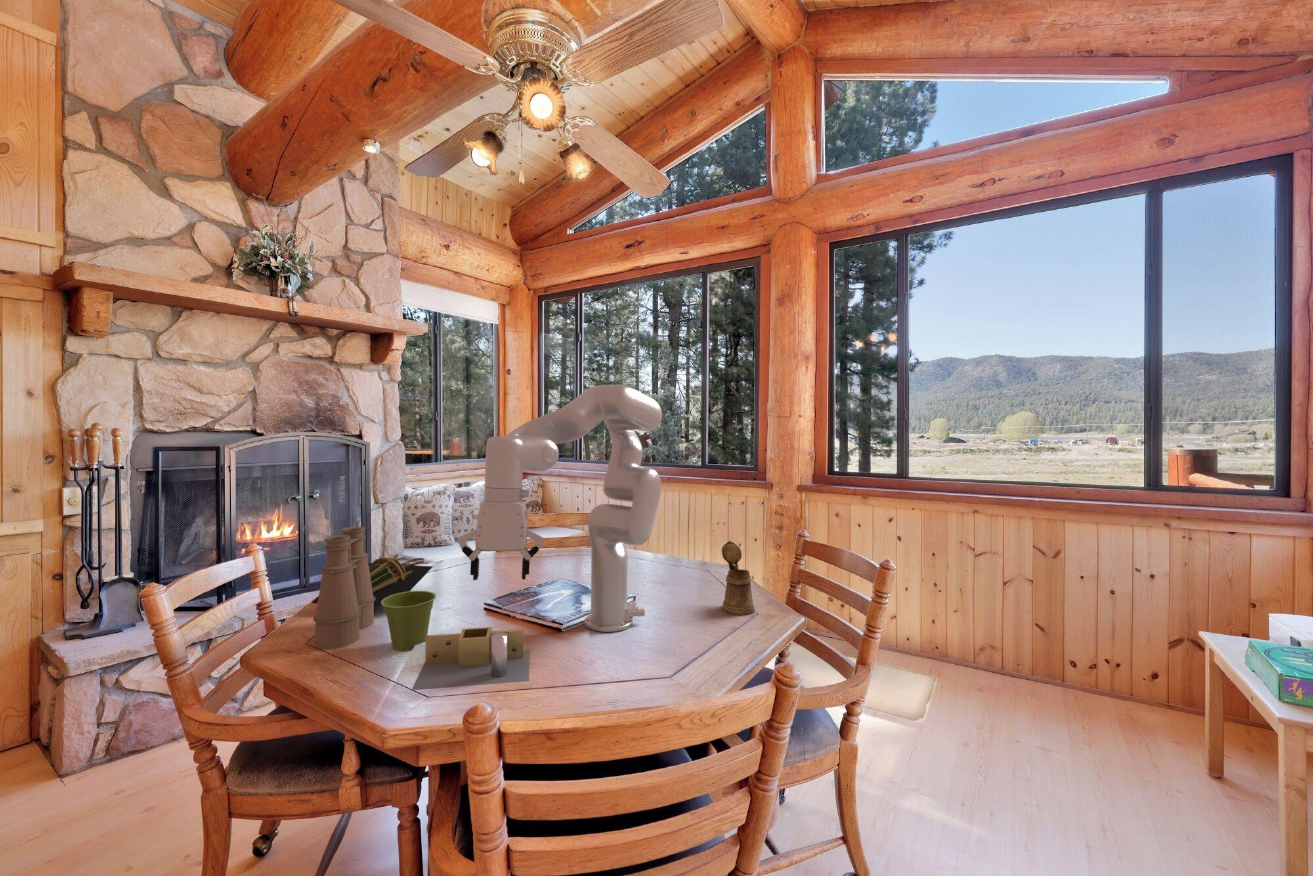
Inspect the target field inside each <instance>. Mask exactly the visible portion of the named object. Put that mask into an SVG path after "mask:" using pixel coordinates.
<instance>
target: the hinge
mask: <svg viewBox="0 0 1313 876" xmlns="http://www.w3.org/2000/svg"><path fill="white" fill-rule="evenodd" d="M492 627H493V626H487V627H486V626H485V627H469V628H462V629H461V631H460V633H446V634H444V633H443V634H427V635H426V642H425V661H426V665H430V664H444V663H458V668H463V667H477V666H489V663H490V660H491V635H493V634H495V633H506V634H507V659H514V658H523V651H524V629H511V630H495V631H493V630H492Z"/></svg>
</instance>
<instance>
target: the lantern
mask: <svg viewBox="0 0 1313 876" xmlns="http://www.w3.org/2000/svg"><path fill="white" fill-rule="evenodd" d="M399 555H400V554H399V553H396V554H395V555H394V556H393V557H388V556H387V557H383V556H382V555H379V558H377V559H375V560H374V561H372V563H369V562H368V566H369V572H370V579H371V585H372V591H373V596H374V597H375V598H376V599H375V601H374V607H383V606H382V605H381V601H382V600H383V599H384V598H386V597H388V596H391V595H394V594H398V593H402V592H408V591H413V588H415V587H416V585H417V584H419V582H420V581H421V580H422V579H423V578H424V577H425V576H426V575H427V574H428V573H429V571H431V570H432V569H433V568H434V566H432V565H431V566H430V565H421V564H424V562H425V558H424V557H417V558H412V559H409V560H406V561H404V562H400V561H399V559H397V558H398V556H399ZM318 598H319V595H318V596H316V598H315V599H313V600H312V601H310V604H318Z"/></svg>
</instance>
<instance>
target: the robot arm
mask: <svg viewBox="0 0 1313 876" xmlns="http://www.w3.org/2000/svg"><path fill="white" fill-rule="evenodd" d="M662 418H663V412H662V408H661V406H660V404H659V403H658V402H657V401H656V400H655V398H652V397H650V396H649V395H647V394H646V393H643V392H641V391H639V390H637V389H635V388H634V387H631V386H628V385H625V384H607V385H606V384H605V385H603V384H602V385H601V384H599V385H594V386H592V387H590V388H588V389H586V390H585V391H584V392H582V393H581V394H579V395H578V396H577V397H575V398H574V399H573V400H571V401H570V402H568V403H567V404H565V405H564V406H563V407H561V408H559V409H557V410H554V411H551V412H548V413H546V414H543V415H542V416H539V417H536V418H534V419H532V420H528V421H527V422H525V423H523V424H521V425H519V426H518V427H516V428H515V429H513V430H512V431H511V432H509V433H508V434H507V435H506V436H490V437H488V439H487V441H486V445H485V465H484V466H485V467H484V469H485V471H484V489H483V490H484V493H483V501H481V502H480V505H479V509H478V513H477V521H476V528H475V529H474V530H472V531H471V530H470V531H469V532H467V533H464V534H463V535H461V536H458V538H457V540H456V541H457V543H458V545H459V547H460V548H461V551H462V553H464V555H465V556H466V557H467V558H468V559H469V560H470V570H469V572H470V573H469V574H470V576H472V577H473V578H472V580H473V581H477V580H478V578H479V576H480V575H479V573H480V571H479V570H480V558H479V555H480V554H481V553H482V552H519V553H520V554H521V556H522V557H523V558H522V561H521V562H522V567H521V580H526V577H527V575H530V566H531V565H530V563H531V562H530V561H531V559H533V557H534V556H535V555H536V554H537V553H538V552H539V550H540V549H541V547H542V545H543V544H544V541H545V538H544V537H543V536H541V535H539V534H537V533H536V532H534V531H531V530H530V529H528V515H527V514H528V512H527V506H526V502H525V501H522V500H523V499H525V498H529V496H530V490H525V489H523V473H524V471H528V472H529V471H530V472H545V471H549V470H550V469H552V468H553V467H554V466H555V465H556V464H557V463H558V460H559V457H560V453H559V452H560V451H559V448H558V446H557V444H564V443H570V442H573V441H576V440H580V439H581V438H584V437H585V436H586V435H587V434H589V432H590V431H592V430H593V429H594V428H595V427H597V426H598V425H599V424H601V423H602V422H604V424H605V427H606V428H607V430H608V433H609V436H610V439H611V444H612V446H611V452H610V455H609V456H610V458H609V460H608V464H607V465H608V466H607V469H606V471H605V472H606V473H605V476H604V480H603V487H602V489H603V494H604V495H605V496H606V497H607V498H608V499H611V500H613V501H614V500H615V501H619V502H628V503H632V505H631V506H627V505H623V504H622V505H620V504H616V503H615V504H612V503H602V504H598V505H596V506H595V507H593V508H592V510H591V511H590V513H589V514H588V517H587V527H588V528H587V529H588V535H589V540H590V550H591V551H590V552H591V554H590V555H591V558H590V560H591V563H590V564H591V567H590V568H591V570H590V571H591V573H590V578H591V579H590V582H591V583H590V584H591V585H590V614H589V615H587V616H586V617H585V618H584V626H585V627H586V628H587V629H590V630H593V631H596V632H602V633H614V632H620V631H623V630H626V629H628V628H630V627H631V626H632V625H633V621H634V620H633V618H634V617H639V618H641V617H645V616H646V615H645V614H646V611H645V608H639V607H638V606H633V607H630V606H629V604H628V553H627V550H626V547H625V545H631V546H640V545H641V546H642V545H643V544H646V542H648V540H649V538H650V537H651V534H652V532H653V528H654V525H655V520H656V516H657V510H658V507H659V503H660V502H659V501H660V497H661V492H662V481H661V478H660V474H659V473H658V472H657V471H656V470H655V468H652V467H647V466H641V464H642V459H643V454H644V450H643V445H642V442H641V441H640V438H639V436H638V435H637V433H636V432H651V431H654V430H656V429H657V428H658V427H659V426H660V425H661V422H662ZM474 538H475V541H474V542H475V543H474V544H475V549H474V550H473V549H472V548H471V547H470V546H469V545H468V542H467V541H469V540H471V539H474ZM528 538H529V539H531V540H533V541H535V543H534V545H533V546H532V547H531V549H528V548H527V547H526V545H527V541H528ZM624 544H625V545H624Z"/></svg>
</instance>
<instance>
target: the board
mask: <svg viewBox="0 0 1313 876" xmlns="http://www.w3.org/2000/svg"><path fill="white" fill-rule="evenodd" d="M530 653H531V649H527V650H525V649H524V650H523V658H514V659H507V675H505V676H503V677H499V678H495V677H492V676H491V660H490V663H489V666H477V667H463V668H458V663H444V664H430V665H426V660H425V661H424V663H423V665H422V667H421V669H420V672H419V674H418V676H417V678H416V680H415V682H414V684H413V687H412V688H411V691H420V690H430V689H431V690H432V689H442V688H444V689H445V688H455V687H468V686H469V687H470V686H480V685H481V686H482V685H493V684H505V683H506V684H507V683H518V682H519V683H520V682H529V680H530V660H531V659H530V658H531V654H530Z"/></svg>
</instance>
